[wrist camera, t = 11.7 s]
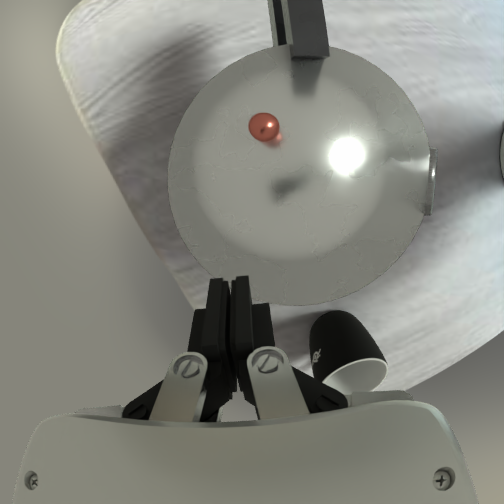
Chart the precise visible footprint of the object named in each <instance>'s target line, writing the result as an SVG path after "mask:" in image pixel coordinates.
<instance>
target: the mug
mask: <svg viewBox="0 0 504 504" xmlns="http://www.w3.org/2000/svg"><path fill="white" fill-rule="evenodd" d="M310 356H311V363H312V370H313V375H314V378H315V379H316V380H318V381H320V382H322V383H324V384H326V385H328V386H330V387H332V388H334V389H336V390H338V391H339V392H341V393H342V394H344V395H351V394H352V392H372V391H373V390H374V389H376V388H377V387H378V386H379V385H380V384H381V383H382V382H383V380H384V379H385V377H386V376H387V373H388V365H387V362H386V360H385V358H384V356H383V354H382V352H381V351H380V349H379V347H378V346H377V344H376V343H375V341H374V339H373V338H372V337H371V335H370V334H369V332H368V331H367V330H366V328H365V327H364V326H363V325H362V323H361V322H360V321H359V320H358V319H357V318H356V317H354V316H353V315H352V314H350V313H348V312H344V311H334V312H330V313H327V314H325V315H323V316H322V317H320V318H319V319H318V320H317V321H316V322H315V323H314V325H313V327H312V329H311V332H310Z"/></svg>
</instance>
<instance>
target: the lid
mask: <svg viewBox="0 0 504 504" xmlns="http://www.w3.org/2000/svg"><path fill="white" fill-rule="evenodd" d="M281 4H282V11H283V18H284V25H285V33H286V41H287V45H281V46H276V47H271V48H267V49H264V50H261V51H258V52H255V53H253V54H250V55H247V56H245V57H244V58H242V59H240V60H238V61H236V62H234V63H233V64H231V65H229V66H228V67H226V68H225V69H224V70H222V71H221V72H220V73H219V74H217V75H216V76H215V77H213V78H212V79H211V80H210V81H209V82H208V83H207V84H206V85H205V86H204V88H203V89H202V90H201V91H200V92H199V93H198V94H197V95H196V97H195V98H194V100H193V101H192V103H191V104H190V105H189V107H188V108H187V110H186V111H185V113H184V115H183V117H182V119H181V122H180V124H179V126H178V128H177V130H176V133H175V136H174V139H173V143H172V146H171V150H170V156H169V162H168V179H167V187H168V195H169V202H170V207H171V211H172V214H173V218H174V221H175V224H176V226H177V229H178V231H179V233H180V235H181V238H182V239H183V241H184V243H185V244H186V246H187V248H188V249H189V251H190V252H191V254H192V255H193V256H194V257H195V259H196V260H197V261H198V262H199V264H200V265H201V266H202V267H203V268H204V269H205V270H206V271H207V272H209V273H210V274H211V275H212V276H213V277H214V278H223V280H224V281H228V283H229V288H230V289H231V281H232V280H236V276H245V275H249V282H250V290H251V298H252V299H255V300H259V301H263V302H267V303H271V304H279V305H293V306H302V305H312V304H319V303H324V302H328V301H332V300H335V299H338V298H341V297H344V296H347V295H349V294H351V293H353V292H355V291H358V290H359V289H361V288H363V287H365V286H366V285H368V284H370V283H371V282H373V281H374V280H375V279H377V278H378V277H379V276H381V275H382V274H383V273H384V272H386V271H387V270H388V269H389V268H390V267H391V266H392V265H393V264H394V263H395V262H396V261H397V260H398V258H399V257H400V256H401V255H402V254H403V253H404V251H405V250H406V248H407V247H408V246H409V244H410V243H411V241H412V240H413V238H414V236H415V234H416V232H417V230H418V229H419V227H420V224H421V222H422V219H423V217H424V215H431V214H432V208H433V200H434V191H435V181H436V168H437V151H438V149H436V148H433V147H429V143H428V139H427V135H426V132H425V129H424V126H423V124H422V121H421V119H420V117H419V115H418V113H417V111H416V109H415V107H414V105H413V104H412V102H411V101H410V99H409V98H408V97H407V95H406V94H405V92H404V91H403V90H402V89H401V88H400V87H399V86H398V85H397V84H396V82H395V81H394V80H393V79H392V78H391V77H389V76H388V75H387V74H386V73H385V72H383V71H382V70H381V69H380V68H378V67H377V66H375V65H374V64H372V63H370V62H369V61H367V60H365V59H363V58H362V57H359V56H357V55H355V54H352V53H350V52H347V51H345V50H341V49H338V48H334V47H330V46H329V44H328V36H327V29H326V22H325V16H324V9H323V4H322V0H281Z"/></svg>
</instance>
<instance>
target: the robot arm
mask: <svg viewBox="0 0 504 504" xmlns="http://www.w3.org/2000/svg"><path fill="white" fill-rule="evenodd" d="M500 161H501V169H502V174H503V177H504V132H503V135H502V141H501V149H500ZM237 378H238V383H239V387H240V391H241V392H242V391H243V393H244V397H245V400H246V401H248V402H249V403H251V404H252V405H254V406H255V410H256V414H257V418H258V420H254V421H240V422H239V421H238V422H221V418H222V413H223V405H224V404H225V403H226V402H228V401H229V399H232V392H236V391H237ZM12 504H479V503H478V499H477V495H476V491H475V488H474V484H473V482H472V478H471V475H470V472H469V469H468V466H467V463H466V460H465V457H464V455H463V452H462V450H461V447H460V445H459V443H458V440H457V438H456V436H455V434H454V432H453V430H452V428H451V426H450V425H449V423H448V421H447V420H446V418H445V417H444V416H443V414H442V413H441V412H440V411H439V410H438V409H436V408H435V407H434V406H432V405H430V404H427V403H423V402H418V401H414V399H413V397H412V396H411V395H410V394H409V393H407V392H405V391H401V390H393V391H374V392H352V394H351V395H344V394H342V393H341V392H339V391H338V390H336V389H334V388H332V387H330V386H328V385H326V384H324V383H322V382H320V381H318V380H316V379H315V378H313V377H311V376H309V375H307V374H305V373H303V372H301V371H300V370H298V369H296V368H294V367H292V366H291V365H290V362H289V359H288V357H287V355H286V353H285V352H284V351H282V350H281V349H279V348H277V347H275V343H274V336H273V328H272V321H271V314H270V307H269V303H262V304H252V298H251V290H250V282H249V275H245V276H236V280H232V281H231V294H230V288H229V283H228V281H224V280H223V278H215V279H210V283H209V290H208V297H207V304H206V309H196V310H195V312H194V317H193V322H192V328H191V334H190V339H189V346H188V351H187V352H186V353H182V354H180V355H178V356H177V357H175V358H174V359H173V360H172V362H171V363H170V366H169V368H168V371H167V373H166V376H165V378H164V380H162V381H161V382H159V383H158V384H156V385H155V386H153V387H152V388H151V389H149V390H148V391H147V392H145V393H143V394H142V395H140V396H139V397H137V398H136V399H134V400H133V401H131V402H130V403H129V404H128V405H126V407H122V406H121V405H117V406H107V407H97V408H84V409H79V410H78V411H76V412H75V413H72V414H61V415H56V416H52V417H49V418H47V419H45V420H43V421H42V422H40V424H39V425H38V426H37V427H36V429H35V430H34V432H33V434H32V436H31V439H30V441H29V443H28V446H27V448H26V451H25V454H24V457H23V460H22V463H21V466H20V470H19V474H18V478H17V482H16V487H15V491H14V496H13V501H12Z"/></svg>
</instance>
